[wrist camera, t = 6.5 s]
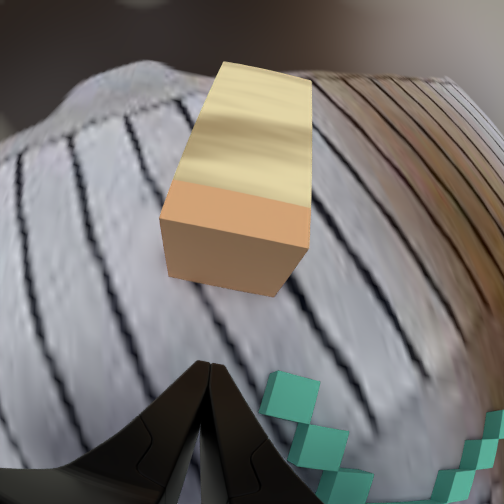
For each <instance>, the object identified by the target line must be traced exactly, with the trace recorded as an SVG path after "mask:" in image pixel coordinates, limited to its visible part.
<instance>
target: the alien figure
mask: <svg viewBox="0 0 504 504" xmlns="http://www.w3.org/2000/svg"><path fill="white" fill-rule="evenodd" d="M319 386H320V381H316V380H312V379H308V378H304V377H300V376H297V375H293V374H289V373H285V372H282V371H276V372H273V373H270V375H269V379H268V382H267V386H266V389H265V392H264V396H263V399H262V403H261V406H260V409H259V412H258V413H261V414H265V415H268V416H273V417H277V418H281V419H285V420H289V421H294V422H298V425H297V429H296V432H295V435H294V439H293V442H292V445H291V449H290V452H289V455H288V458H287V460H288V461H289V462H291V463H293V464H294V465H296V466H300V467H306V468H313V469H321V470H323V473H322V476H321V479H320V482H319V485H318V488H317V491H316V494H315V495H316V496H317V497H318V498H319V499H320V500H321V501H322V502H323V503H324V504H447V503H451V502H456V501H461V500H466V499H468V496H469V493H470V489H471V486H472V482H473V479H474V475H475V471H476V470H479V469H486V468H492V467H493V464H494V459H495V455H496V450H497V445H498V440H499V439H504V410H499V411H493V412H487V413H486V420H485V426H484V432H483V438H482V440H465V444H464V449H463V453H462V458H461V462H460V466H459V469H452V470H439V471H438V475H437V479H436V482H435V486H434V489H433V492H432V495H431V498H430V500H420V501H409V502H392V503H365V502H366V499H367V496H368V493H369V490H370V487H371V484H372V481H373V477H374V474H372V473H369V472H366V471H362V470H359V469H347V468H339V467H340V464H341V460H342V457H343V454H344V450H345V446H346V443H347V439H348V435H349V431H344V430H338V429H332V428H326V427H321V426H316V425H310V421H311V417H312V414H313V410H314V406H315V402H316V398H317V394H318V390H319Z"/></svg>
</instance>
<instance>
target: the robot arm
mask: <svg viewBox="0 0 504 504" xmlns="http://www.w3.org/2000/svg"><path fill="white" fill-rule="evenodd" d="M200 424H201V426H200ZM199 429H200V474H201V504H324V503H323V502H322V501H321V500H320V499H319V498H318V497H317V496H316V495H315V494H314V493H313V492H312V491H311V490H310V489H309V488H308V486H307V485H306V484H305V483H304V482H303V481H302V480H301V479H300V478H299V477H298V476H297V475H296V474H295V472H294V471H293V470H292V469H291V468H290V467H289V465H288V464H287V463H286V462H285V461H284V459H283V458H282V457H281V455H280V454H279V452H278V451H277V450H276V448H275V447H274V445H273V444H272V442H271V440H270V439H268V436H267V434H266V433H265V431H264V430H263V428H262V427H261V425H260V423H259V422H258V420H257V419H256V417H255V415H254V414H253V412H252V411H251V409H250V407H249V406H248V404H247V402H246V401H245V399H244V397H243V396H242V394H241V392H240V391H239V389H238V387H237V386H236V384H235V382H234V381H233V379H232V377H231V375H230V374H229V372H228V370H227V368H226V367H225V366H224V365H221V364H216V363H212V364H211V365H210V363H209V362H205V361H200V360H197V361H196V362H195V363H194V364H193V365H191V366H190V367H189V368H188V369H187V370H186V371H185V372H184V373H183V374H182V375H181V376H180V377H179V378H178V379H177V380H176V381H175V382H174V383H173V384H171V385H170V386H169V387H168V388H167V389H166V390H165V391H164V392H163V393H162V394H161V395H160V396H159V397H158V398H156V399H155V400H154V401H153V402H152V403H151V404H150V405H149V406H148V407H147V408H146V409H145V410H143V411H142V412H141V413H140V414H139V416H137V417H136V418H135V419H133V420H132V421H131V422H130V423H129V424H128V425H127V426H125V427H124V428H123V429H122V430H121V431H119V432H118V433H117V434H115V435H114V436H112V437H111V438H109V439H108V440H106V441H105V442H103V443H102V444H100V445H99V446H97V447H95V448H94V449H92V450H91V451H89V452H87V453H86V454H84V455H83V456H81V457H79V458H78V459H76V460H74V461H73V462H71V463H69V464H67V465H64V466H61V467H58V468H53V469H12V468H0V504H177V503H178V499H179V496H180V493H181V490H182V486H183V483H184V480H185V476H186V473H187V470H188V467H189V463H190V460H191V457H192V453H193V450H194V447H195V443H196V440H197V437H198V433H199Z"/></svg>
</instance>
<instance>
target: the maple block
mask: <svg viewBox="0 0 504 504" xmlns="http://www.w3.org/2000/svg"><path fill="white" fill-rule="evenodd" d="M311 182H312V87H311V81H310V80H306V79H302V78H299V77H295V76H291V75H287V74H283V73H279V72H274V71H270V70H265V69H261V68H256V67H251V66H246V65H241V64H235V63H228V62H223V64H222V66H221V68H220V70H219V72H218V74H217V77H216V79H215V81H214V83H213V85H212V87H211V89H210V91H209V94H208V96H207V98H206V100H205V102H204V105H203V107H202V109H201V111H200V114H199V116H198V118H197V121H196V123H195V125H194V128H193V130H192V133H191V135H190V137H189V140H188V142H187V145H186V147H185V150H184V152H183V155H182V157H181V160H180V162H179V165H178V167H177V170H176V173H175V175H174V178H173V181H172V183H171V186H170V189H169V192H168V194H167V197H166V200H165V203H164V206H163V208H162V211H161V214H160V217H159V220H160V227H161V234H162V240H163V246H164V252H165V258H166V264H167V269H168V275H169V277H173V278H178V279H183V280H187V281H192V282H197V283H202V284H207V285H212V286H217V287H222V288H227V289H232V290H237V291H243V292H248V293H253V294H259V295H264V296H269V297H275V295H276V294H277V292H278V291H279V290H280V288H281V287H282V286H283V284H284V283H285V282H286V280H287V279H288V277H289V276H290V275H291V273H292V272H293V270H294V269H295V268H296V266H297V265H298V263H299V262H300V261H301V259H302V258H303V256H304V255H305V254H306V252H307V251H308V249H309V240H310V216H311Z"/></svg>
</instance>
